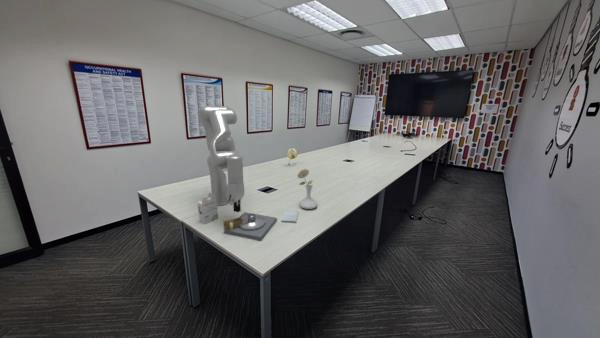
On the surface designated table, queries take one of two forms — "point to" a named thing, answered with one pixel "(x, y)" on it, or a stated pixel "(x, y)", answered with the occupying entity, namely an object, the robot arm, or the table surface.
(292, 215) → the hard drive
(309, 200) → the flower in vase
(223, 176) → the robot arm
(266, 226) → the base plate
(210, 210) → the ink box
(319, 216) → the table surface
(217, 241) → the table surface
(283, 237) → the table surface
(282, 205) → the table surface
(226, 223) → the wooden handled frying pan
